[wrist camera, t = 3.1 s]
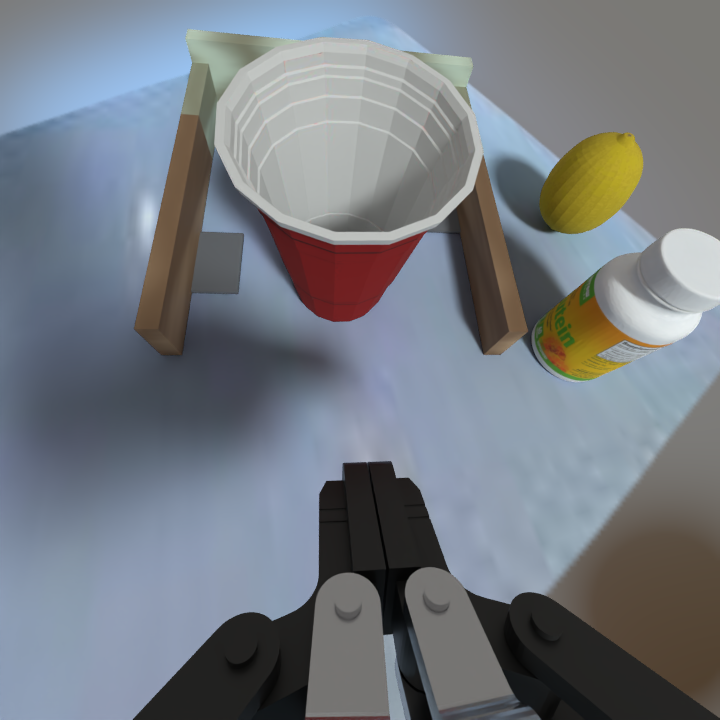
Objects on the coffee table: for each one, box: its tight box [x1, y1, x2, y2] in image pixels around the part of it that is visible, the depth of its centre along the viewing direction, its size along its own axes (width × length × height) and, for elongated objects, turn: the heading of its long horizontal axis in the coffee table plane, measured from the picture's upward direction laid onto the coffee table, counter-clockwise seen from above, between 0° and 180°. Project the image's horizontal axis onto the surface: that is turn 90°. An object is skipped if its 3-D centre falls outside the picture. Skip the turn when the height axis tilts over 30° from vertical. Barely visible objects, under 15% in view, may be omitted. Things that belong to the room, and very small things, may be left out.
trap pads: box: [191, 208, 461, 294], centre depth 27 cm, size 22×6×1 cm, turn 113°
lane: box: [134, 29, 528, 355], centre depth 25 cm, size 22×24×5 cm
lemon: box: [539, 132, 643, 234], centre depth 26 cm, size 6×6×8 cm
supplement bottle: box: [532, 228, 720, 382], centre depth 20 cm, size 5×5×10 cm
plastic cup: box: [214, 37, 484, 322], centre depth 19 cm, size 11×11×12 cm
